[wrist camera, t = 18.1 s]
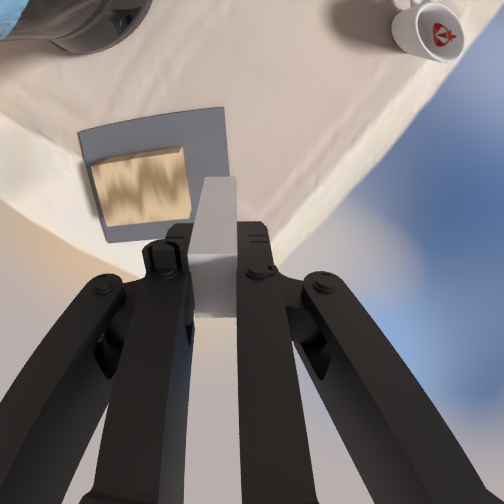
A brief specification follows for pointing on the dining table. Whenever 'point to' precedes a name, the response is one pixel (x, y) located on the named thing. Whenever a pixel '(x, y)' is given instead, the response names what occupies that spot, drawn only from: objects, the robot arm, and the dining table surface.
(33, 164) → the dining table surface
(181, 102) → the dining table surface
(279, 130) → the dining table surface
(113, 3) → the robot arm
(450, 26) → the cup
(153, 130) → the slate mat
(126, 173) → the tan block
